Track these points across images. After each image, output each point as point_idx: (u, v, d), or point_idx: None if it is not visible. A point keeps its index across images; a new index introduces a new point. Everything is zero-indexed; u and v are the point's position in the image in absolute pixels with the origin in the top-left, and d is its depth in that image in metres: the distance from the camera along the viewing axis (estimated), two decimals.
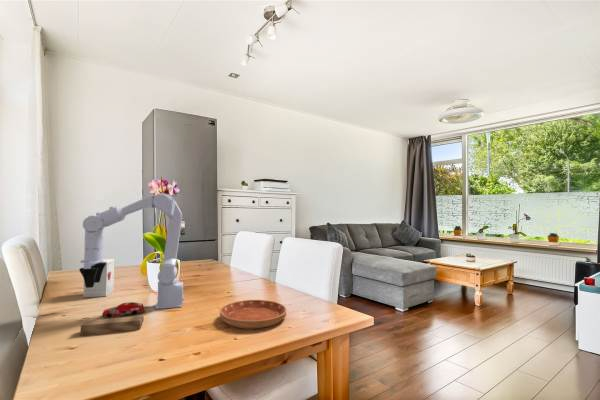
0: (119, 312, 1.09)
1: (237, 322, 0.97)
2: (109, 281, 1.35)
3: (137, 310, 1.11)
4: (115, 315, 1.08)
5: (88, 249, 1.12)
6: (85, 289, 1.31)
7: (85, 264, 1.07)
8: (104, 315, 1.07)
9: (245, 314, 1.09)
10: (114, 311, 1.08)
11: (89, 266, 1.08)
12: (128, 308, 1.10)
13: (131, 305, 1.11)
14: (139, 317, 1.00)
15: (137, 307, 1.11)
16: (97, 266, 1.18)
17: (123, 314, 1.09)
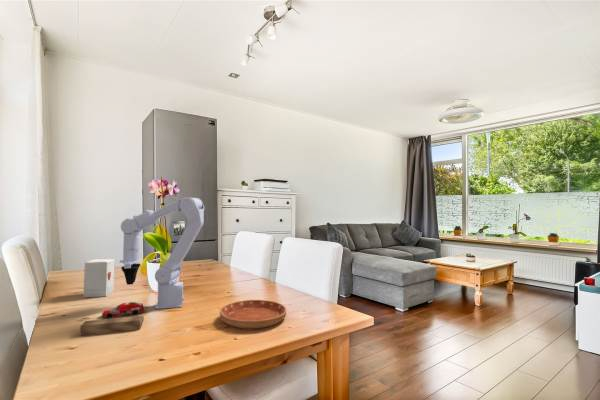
0: (120, 312, 1.09)
1: (237, 322, 0.97)
2: (109, 281, 1.35)
3: (138, 310, 1.11)
4: (116, 315, 1.08)
5: (127, 250, 1.19)
6: (85, 289, 1.31)
7: (126, 264, 1.15)
8: (104, 315, 1.07)
9: (245, 314, 1.09)
10: (115, 311, 1.08)
11: (129, 266, 1.16)
12: (128, 307, 1.10)
13: (131, 305, 1.11)
14: (139, 317, 1.00)
15: (138, 307, 1.12)
16: None
17: (124, 314, 1.09)
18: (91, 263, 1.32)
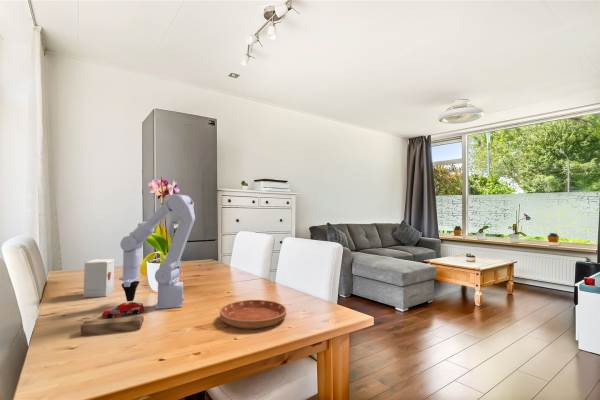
0: (120, 312, 1.09)
1: (237, 322, 0.97)
2: (109, 281, 1.35)
3: (138, 309, 1.12)
4: (116, 315, 1.08)
5: (127, 268, 1.19)
6: (85, 289, 1.31)
7: (125, 282, 1.15)
8: (105, 315, 1.07)
9: (245, 314, 1.09)
10: (115, 311, 1.08)
11: (129, 284, 1.15)
12: (129, 307, 1.10)
13: (132, 305, 1.11)
14: (139, 317, 1.00)
15: (138, 306, 1.12)
16: None
17: (124, 314, 1.09)
18: (91, 263, 1.31)
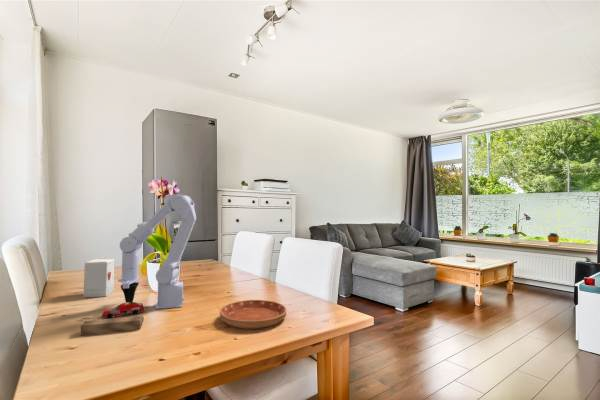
0: (120, 312, 1.09)
1: (237, 322, 0.97)
2: (109, 281, 1.35)
3: (138, 309, 1.12)
4: (116, 315, 1.08)
5: (126, 269, 1.18)
6: (85, 289, 1.31)
7: (124, 284, 1.13)
8: (105, 315, 1.07)
9: (245, 314, 1.09)
10: (115, 311, 1.08)
11: (128, 286, 1.14)
12: (129, 307, 1.10)
13: (132, 305, 1.11)
14: (139, 317, 1.00)
15: (138, 306, 1.12)
16: None
17: (124, 314, 1.09)
18: (91, 263, 1.31)
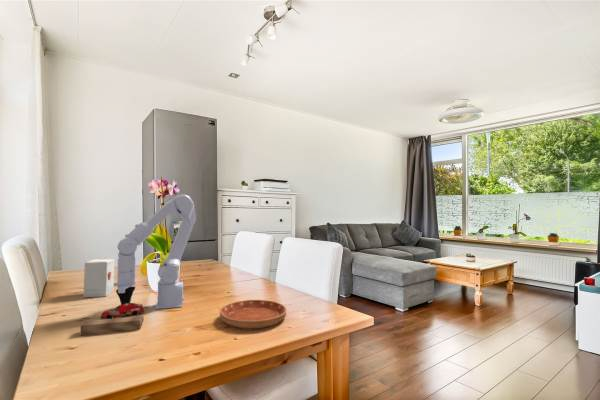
0: (120, 313, 1.07)
1: (237, 322, 0.97)
2: (109, 281, 1.35)
3: (138, 310, 1.10)
4: (115, 316, 1.07)
5: (121, 272, 1.11)
6: (85, 289, 1.31)
7: (119, 288, 1.07)
8: (104, 317, 1.05)
9: (245, 314, 1.09)
10: (114, 312, 1.07)
11: (123, 290, 1.07)
12: (128, 308, 1.09)
13: (131, 306, 1.10)
14: (139, 317, 1.00)
15: (137, 307, 1.11)
16: None
17: (123, 315, 1.08)
18: (91, 263, 1.31)
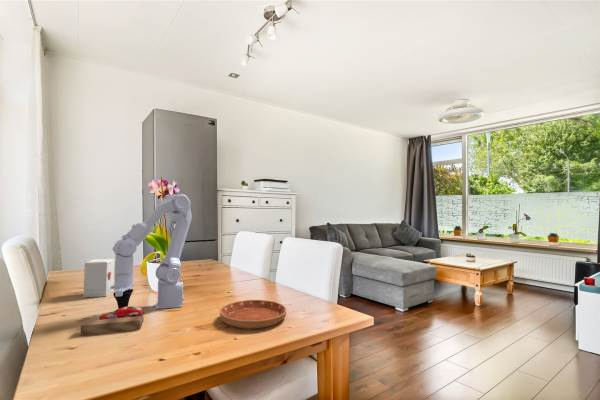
0: (117, 317, 1.04)
1: (237, 322, 0.97)
2: (109, 281, 1.35)
3: (136, 314, 1.06)
4: None
5: (119, 275, 1.07)
6: (85, 289, 1.31)
7: (117, 291, 1.03)
8: None
9: (245, 314, 1.09)
10: (112, 316, 1.03)
11: (121, 293, 1.04)
12: (126, 312, 1.05)
13: (130, 309, 1.06)
14: (139, 317, 1.00)
15: (136, 311, 1.07)
16: None
17: None
18: (91, 263, 1.31)
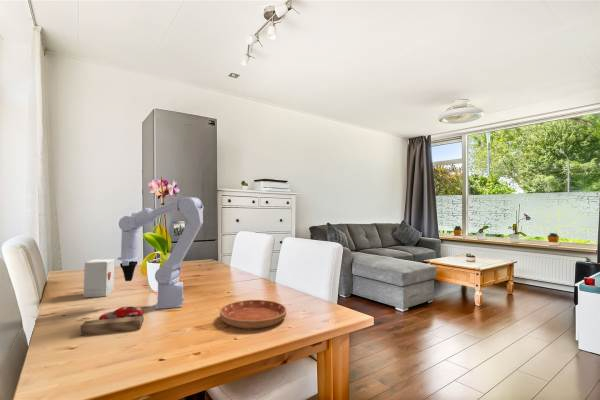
0: (117, 317, 1.04)
1: (237, 322, 0.97)
2: (109, 281, 1.35)
3: (136, 315, 1.06)
4: None
5: (125, 247, 1.19)
6: (85, 289, 1.31)
7: (124, 261, 1.15)
8: None
9: (245, 314, 1.09)
10: (112, 316, 1.03)
11: (127, 263, 1.16)
12: (126, 312, 1.05)
13: (129, 309, 1.06)
14: (139, 317, 1.00)
15: (136, 311, 1.06)
16: None
17: None
18: (91, 263, 1.31)
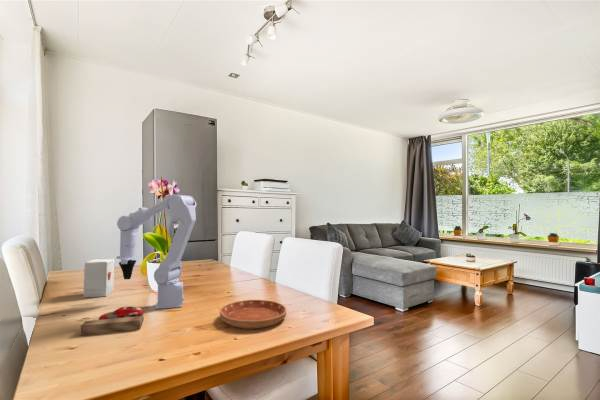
0: (117, 317, 1.04)
1: (237, 322, 0.97)
2: (109, 281, 1.35)
3: (136, 314, 1.06)
4: None
5: (124, 246, 1.23)
6: (85, 289, 1.31)
7: (122, 260, 1.18)
8: None
9: (245, 314, 1.09)
10: (112, 316, 1.03)
11: (126, 262, 1.19)
12: (126, 312, 1.05)
13: (129, 309, 1.06)
14: (139, 317, 1.00)
15: (136, 311, 1.07)
16: None
17: None
18: (91, 263, 1.31)
